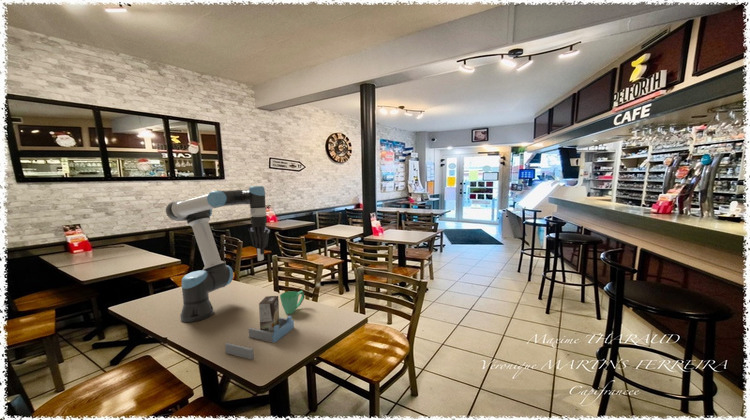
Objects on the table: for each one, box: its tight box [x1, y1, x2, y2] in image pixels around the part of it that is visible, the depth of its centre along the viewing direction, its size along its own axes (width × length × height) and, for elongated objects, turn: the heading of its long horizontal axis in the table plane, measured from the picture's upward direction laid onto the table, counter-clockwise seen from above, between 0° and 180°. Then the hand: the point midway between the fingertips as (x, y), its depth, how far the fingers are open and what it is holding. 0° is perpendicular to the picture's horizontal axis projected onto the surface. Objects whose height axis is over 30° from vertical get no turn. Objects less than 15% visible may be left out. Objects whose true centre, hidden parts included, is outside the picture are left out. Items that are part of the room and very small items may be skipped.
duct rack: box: [224, 315, 295, 360], centre depth 130 cm, size 15×27×7 cm, turn 160°
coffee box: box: [258, 295, 281, 333], centre depth 136 cm, size 9×6×16 cm
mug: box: [279, 290, 305, 315], centre depth 158 cm, size 15×10×10 cm
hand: (260, 260), depth 151 cm, fingers closed
